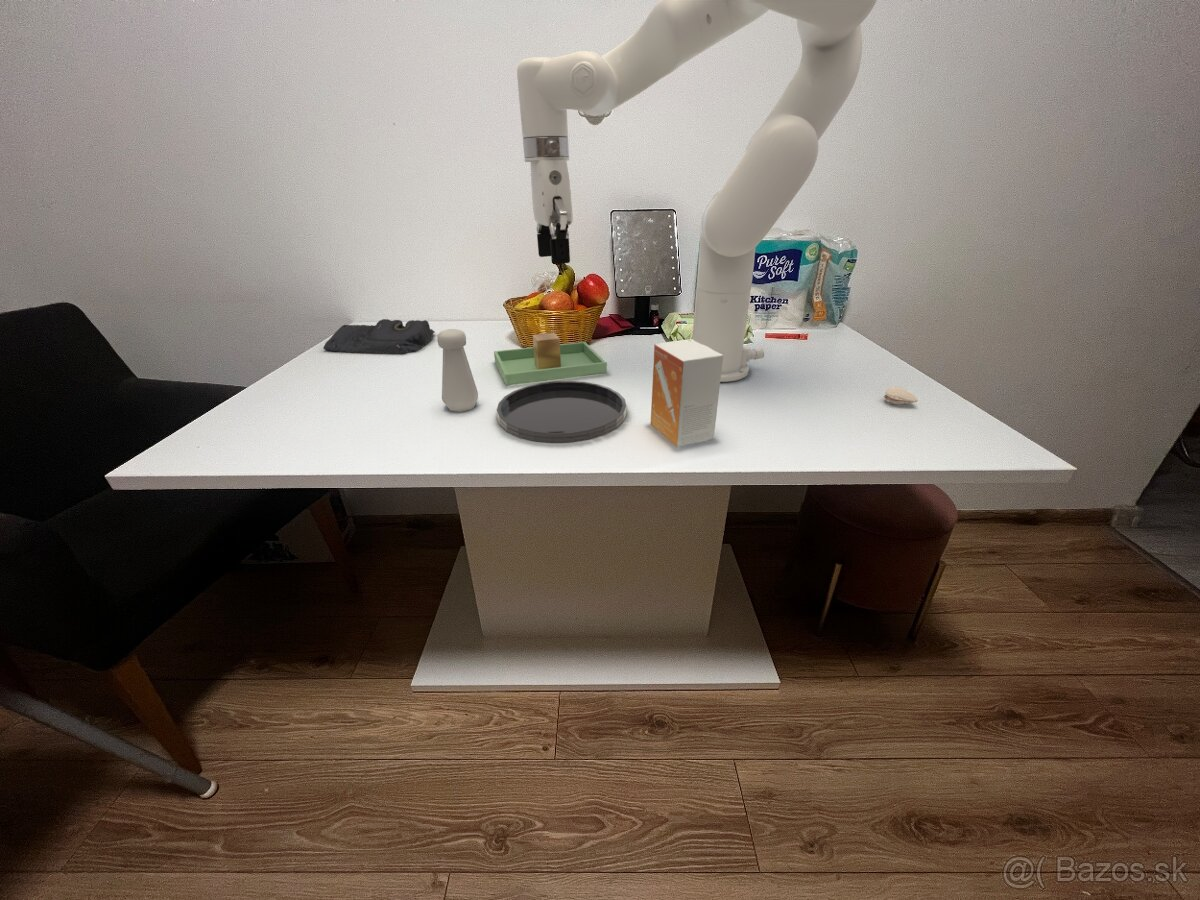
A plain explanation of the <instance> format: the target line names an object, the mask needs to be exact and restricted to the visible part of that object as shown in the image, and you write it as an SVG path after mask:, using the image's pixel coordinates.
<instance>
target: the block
mask: <svg viewBox="0 0 1200 900" xmlns="http://www.w3.org/2000/svg"><path fill="white" fill-rule="evenodd" d="M560 344H561V338H560V337H559V336H558V335H557V334H556V332H550V333H540V334H539V333H538V334H532V347H534V361H535V366H536V367H537V369H538V370H541V369H549V368H558V367H561V356H560Z"/></svg>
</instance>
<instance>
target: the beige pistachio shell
mask: <svg viewBox="0 0 1200 900" xmlns="http://www.w3.org/2000/svg"><path fill="white" fill-rule="evenodd" d="M884 393H885V394H884V396H883V397H884V400H885V401H886V402H888V403H889V404H892V405H907V404H908V405H909V404H913V403H917V402H919V400H918V398H917V397H916V396H915V395H914V394H913V393H912V392H911V391H909V390H907V389H906V388H903V387H900V386H892V387H888V388H887V389H886V390H885V391H884Z"/></svg>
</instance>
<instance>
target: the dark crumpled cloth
mask: <svg viewBox="0 0 1200 900" xmlns="http://www.w3.org/2000/svg"><path fill="white" fill-rule="evenodd" d="M435 333H436V331H435V330H434V329H432V328H431V327H430V324H429V321H428V320H425V319H424V320H419V319H416V320H415V319H414V320H413V319H412V320H409V321H406V323H405V325H404V324H403V320H400V319H394V320H390V319H389V318H383V319H380V320H379V321H378V322H376V324H375V325H372V324H371V325H369V324H343V325H341V326H340V327H339V328H338V329H337V330H336V331H335V332H334V334H332V336H331V337H330V338H329V339H328V340H327V341H326V342H325V343H324V346H323V347H322V348H323V350H325V351H332V352H336V353H351V354H387V355H388V354H389V355H395V354H397V355H402V354H407V353H408V352H410V353H412V352H413V353H414V352H415V353H416V352H418V351H420V350H421V349H423V347H424V346H426V345H428V344H430V342H431V341H432V340H433V337H434V334H435Z"/></svg>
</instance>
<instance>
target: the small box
mask: <svg viewBox="0 0 1200 900" xmlns="http://www.w3.org/2000/svg"><path fill="white" fill-rule="evenodd" d="M653 346H654V348H653V366H652V367H653V368H652V386H651V387H652V390H651V408H650V426H652V427H653V428H654V429H656V430H657V431H658V432H659V433H661V434H662V435H663V436H664V437H665V438H666V439H668V440H669V441H670V442H671V443H672V444H673V445H674V446H675V447H683V446H687V445H691V444H696V443H700V442H704V441H705V442H706V441H709V440H714V439H715V431H716V423H717V415H718V414H717V413H718V404H719V395H720V386H721V382H720V379H721V370H722V361H723V355H722V354H720V353H718V352H716V351H714V350H712V349H711V348H709V347H707V346H705V345H702V344H700V343H698V342H696V341H694V340H692V338H689V339H680V340H679V339H678V340H671V341H666V342H660V343H655V344H654V345H653Z"/></svg>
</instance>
